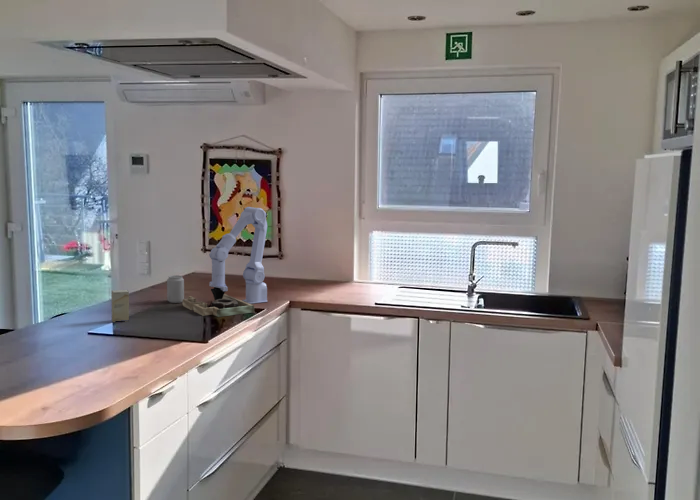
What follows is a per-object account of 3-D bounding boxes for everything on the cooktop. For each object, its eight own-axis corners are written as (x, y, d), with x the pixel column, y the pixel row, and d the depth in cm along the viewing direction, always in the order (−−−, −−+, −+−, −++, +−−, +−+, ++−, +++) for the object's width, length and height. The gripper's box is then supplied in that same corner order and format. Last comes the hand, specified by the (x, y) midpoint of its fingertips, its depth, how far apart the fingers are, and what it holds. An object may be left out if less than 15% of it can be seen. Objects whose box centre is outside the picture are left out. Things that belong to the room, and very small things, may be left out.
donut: (206, 310, 273) (206, 301, 273) (220, 305, 284) (220, 296, 284) (229, 313, 269) (229, 304, 269) (243, 308, 280) (243, 299, 279)
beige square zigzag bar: (222, 299, 298) (222, 292, 297) (254, 312, 273) (254, 305, 273) (178, 303, 285) (178, 297, 284) (207, 318, 260) (207, 311, 260)
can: (179, 304, 285) (179, 277, 283) (164, 302, 286) (163, 276, 285) (186, 300, 292) (186, 275, 290) (171, 299, 293) (171, 274, 292)
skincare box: (112, 322, 248) (112, 292, 247) (111, 320, 252) (110, 290, 251) (129, 321, 251) (129, 291, 250) (127, 318, 255) (127, 289, 254)
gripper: (203, 272, 283) (203, 302, 285) (217, 277, 272) (217, 308, 274) (217, 271, 288) (217, 300, 289) (232, 276, 276) (231, 306, 278)
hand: (218, 304), depth 282 cm, fingers closed
